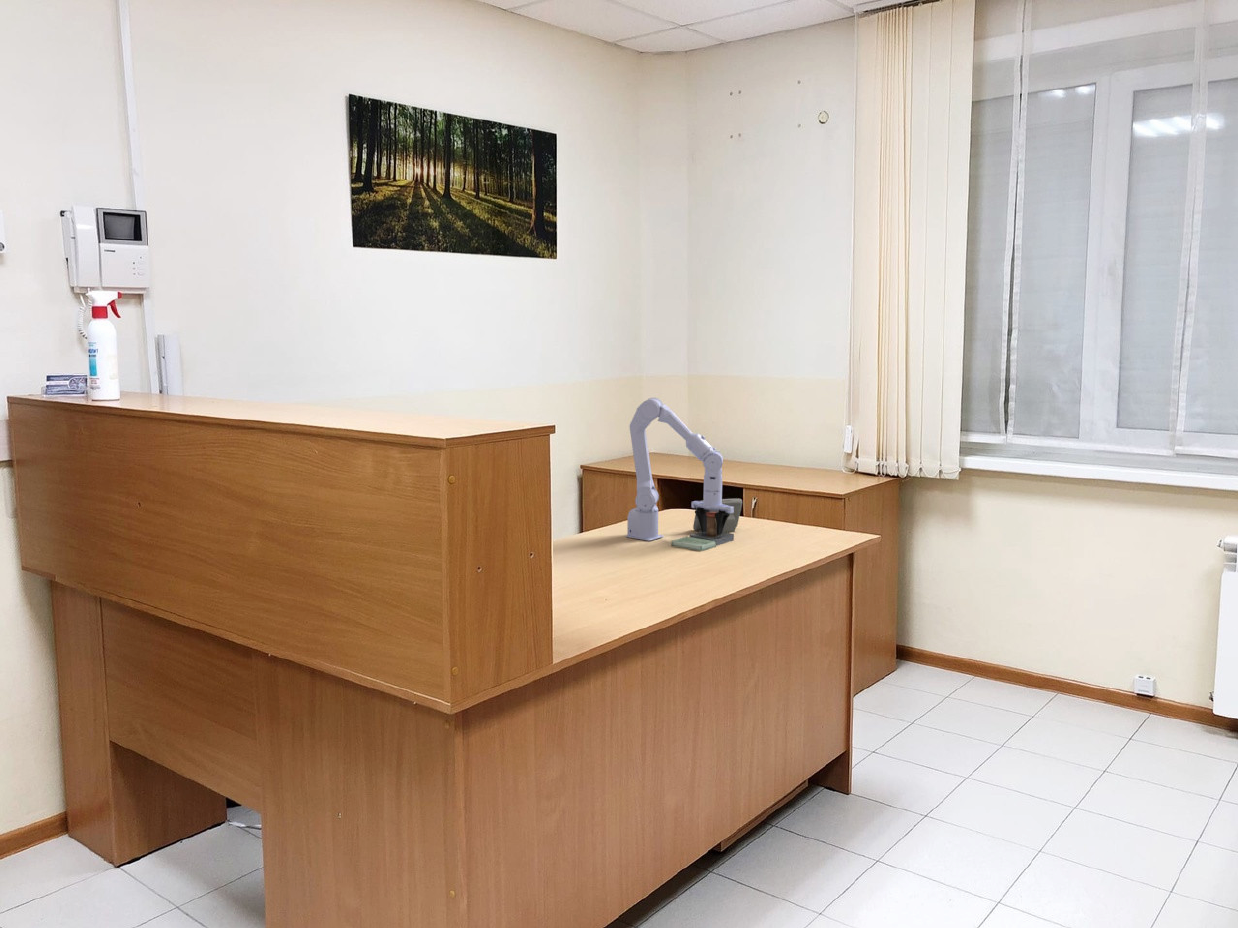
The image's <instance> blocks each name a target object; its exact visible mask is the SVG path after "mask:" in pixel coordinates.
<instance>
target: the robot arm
mask: <svg viewBox="0 0 1238 928" xmlns="http://www.w3.org/2000/svg"><path fill="white" fill-rule="evenodd" d="M657 418H658V419H657ZM656 419H657V422H660V423H663V424H664V423H665V424H668V426H670V427H671V428H672V429H673V430H674V431H675V432H676V433H677V434H678V435H679V436H680V437H681V438H682V439H683V440H684V441H685V448H686V449H687V450H689V451H690V452H691V453H692V455H693V456H695V457H696V458H697V460H698V461H700V462H702V464H703V468H704V475H703V500H702V501H703V502H699V501H700V500H694V501H691V509H695V510H694V514H696V516H697V518H698V520H699V523H700V526H701V531H702V532H707V516H706V513H707V512H709V511H710V510H713V511H719V512H717V513H715V517H716V524H717V528H716V532H717V535H720V534H722V532H723V528H724V525H725V522H726V520H727V518H728V517H729V515H730V514H731V513H734V507H733V506H728V505H725V504H722V499H723V468H722V467H723V463H724V457H723V455H722V454H721V451H719V450H717V448H716V447H715V446H712V445H711V444H710V443H709V442H708V441H707V440H706V436H705V435H704V434H700V433H698V432H697V433H693V431H691V430H690V429H689V427H687V425H686V424H685V423H684V422H683V421H682V420H681V419H680V418H679V416H678V415H677V414H676V413H675V412H674V411H673V410H672V409H671V408H670V407H669V406H668V405H666V404H665V403H663V402H662V400H661V399H659V398H657V397H649V398H648V399H646V400H644V401H643V402H642V403H640V404H639V405H638V407H637V408H636V411H635V413H634V415H633V417H632V419H631V421H630V423H629V433H630V439H631V441H630V442H631V448H632V454H633V462H634V469H635V475H636V476H635V477H636V496H635V501H634V502H635V507H634V508H632V509H630V510H629V511H628V514H627V525H626V526H627V527H626V528H627V530H626V531H627V532H626V535H625V537H626V538H631V539H637V540H641V541H646V542H647V541H648V542H650V541H653V540H658V539H661V538H664V536H665V535H663V534H659V508H658V506H657V504H658V501H659V500H660V499H659V498H660V496H659V495H660V494H659V492H658V491H657V489H656V487H655V483H654V480H653V476H652V468H651V461H650V454H649V453H650V452H649V446H648V438H647V432H646V429H647V428H648V427H649V426H650V425H651V423H652V422H654V420H656ZM696 509H697V510H696ZM701 531H700V532H701Z"/></svg>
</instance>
